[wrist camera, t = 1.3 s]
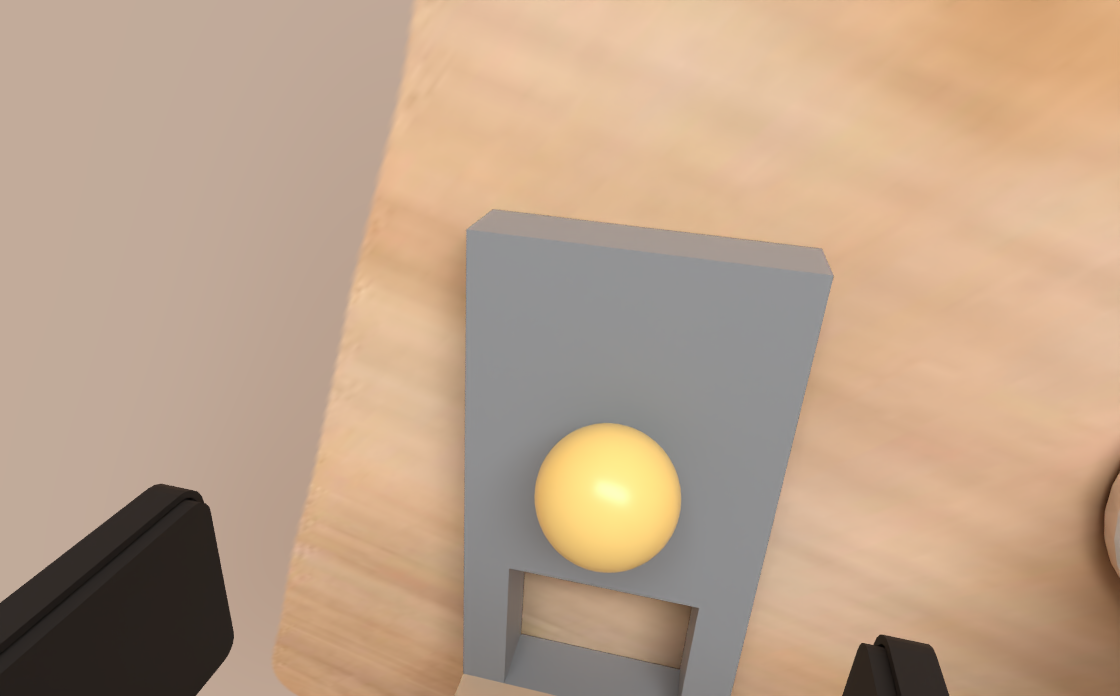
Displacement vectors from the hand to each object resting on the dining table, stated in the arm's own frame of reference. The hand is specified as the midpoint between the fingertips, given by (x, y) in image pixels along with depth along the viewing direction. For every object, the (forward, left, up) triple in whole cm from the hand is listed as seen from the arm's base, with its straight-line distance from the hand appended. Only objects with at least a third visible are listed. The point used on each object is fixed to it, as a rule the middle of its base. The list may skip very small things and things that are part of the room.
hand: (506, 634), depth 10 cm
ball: (0, +7, -13) cm, 14 cm away
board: (0, +11, -18) cm, 21 cm away
